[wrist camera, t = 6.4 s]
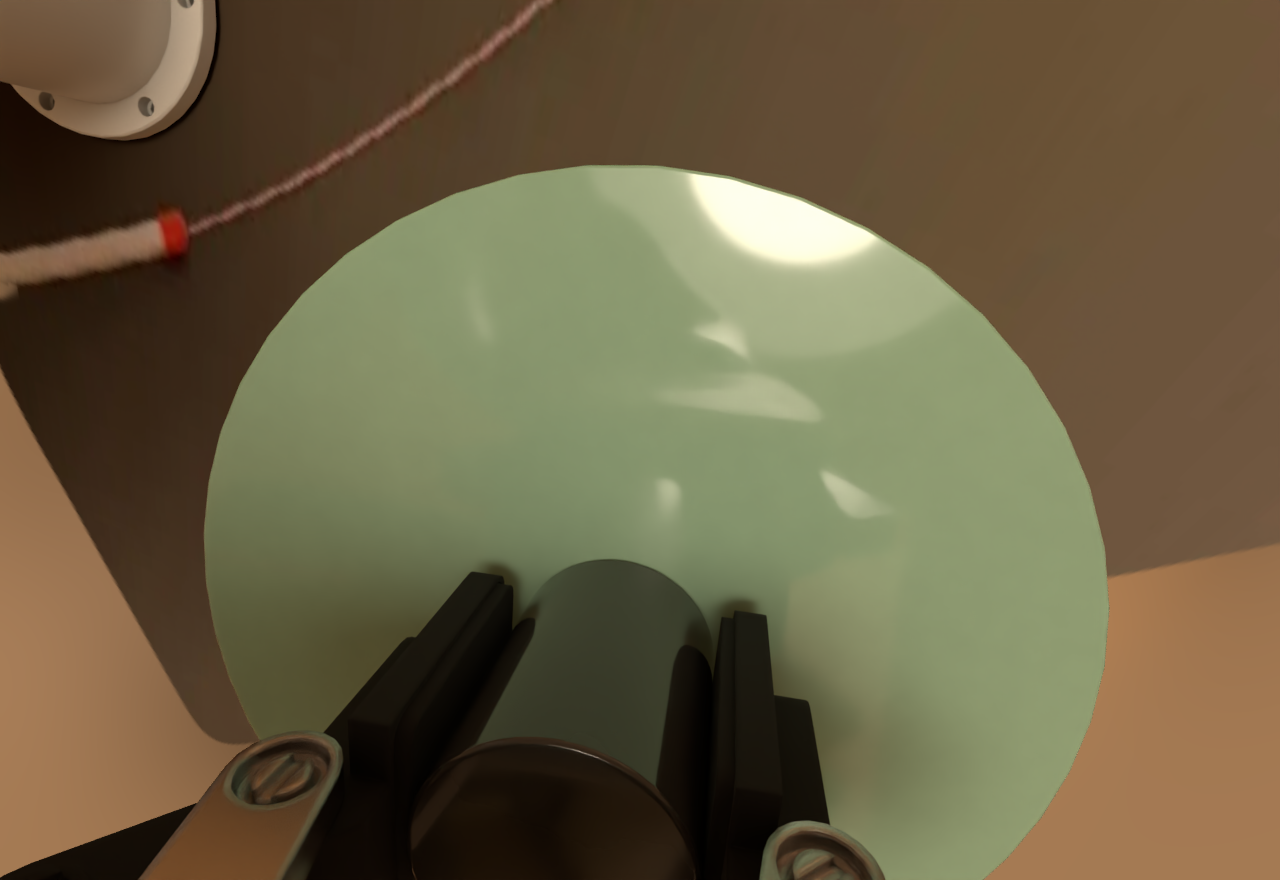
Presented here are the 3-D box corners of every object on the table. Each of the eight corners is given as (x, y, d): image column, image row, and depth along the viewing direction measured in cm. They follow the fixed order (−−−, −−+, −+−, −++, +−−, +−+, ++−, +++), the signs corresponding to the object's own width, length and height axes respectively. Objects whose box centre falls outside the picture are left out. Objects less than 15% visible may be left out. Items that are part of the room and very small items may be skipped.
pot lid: (271, 858, 16) (40, 1159, 11) (204, 137, 12) (-256, 32, 6) (962, 999, 15) (1099, 1444, 9) (1207, 215, 10) (1789, 164, 4)
